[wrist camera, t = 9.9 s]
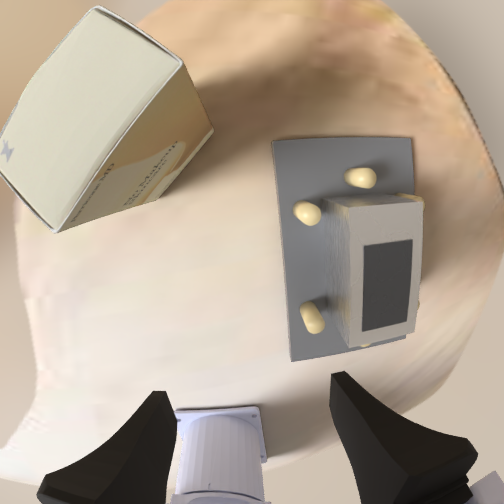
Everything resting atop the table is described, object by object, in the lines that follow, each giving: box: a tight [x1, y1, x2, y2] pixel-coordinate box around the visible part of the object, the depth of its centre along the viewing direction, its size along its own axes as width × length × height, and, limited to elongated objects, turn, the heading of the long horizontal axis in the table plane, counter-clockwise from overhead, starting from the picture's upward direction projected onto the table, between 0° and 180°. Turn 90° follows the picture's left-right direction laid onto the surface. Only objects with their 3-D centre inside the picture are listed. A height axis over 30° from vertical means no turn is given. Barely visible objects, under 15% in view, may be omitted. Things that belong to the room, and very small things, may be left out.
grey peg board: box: [271, 137, 425, 362], centre depth 19 cm, size 16×10×3 cm, turn 6°
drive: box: [321, 193, 423, 348], centre depth 17 cm, size 8×4×5 cm, turn 7°
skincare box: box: [0, 5, 214, 233], centre depth 12 cm, size 6×4×12 cm
